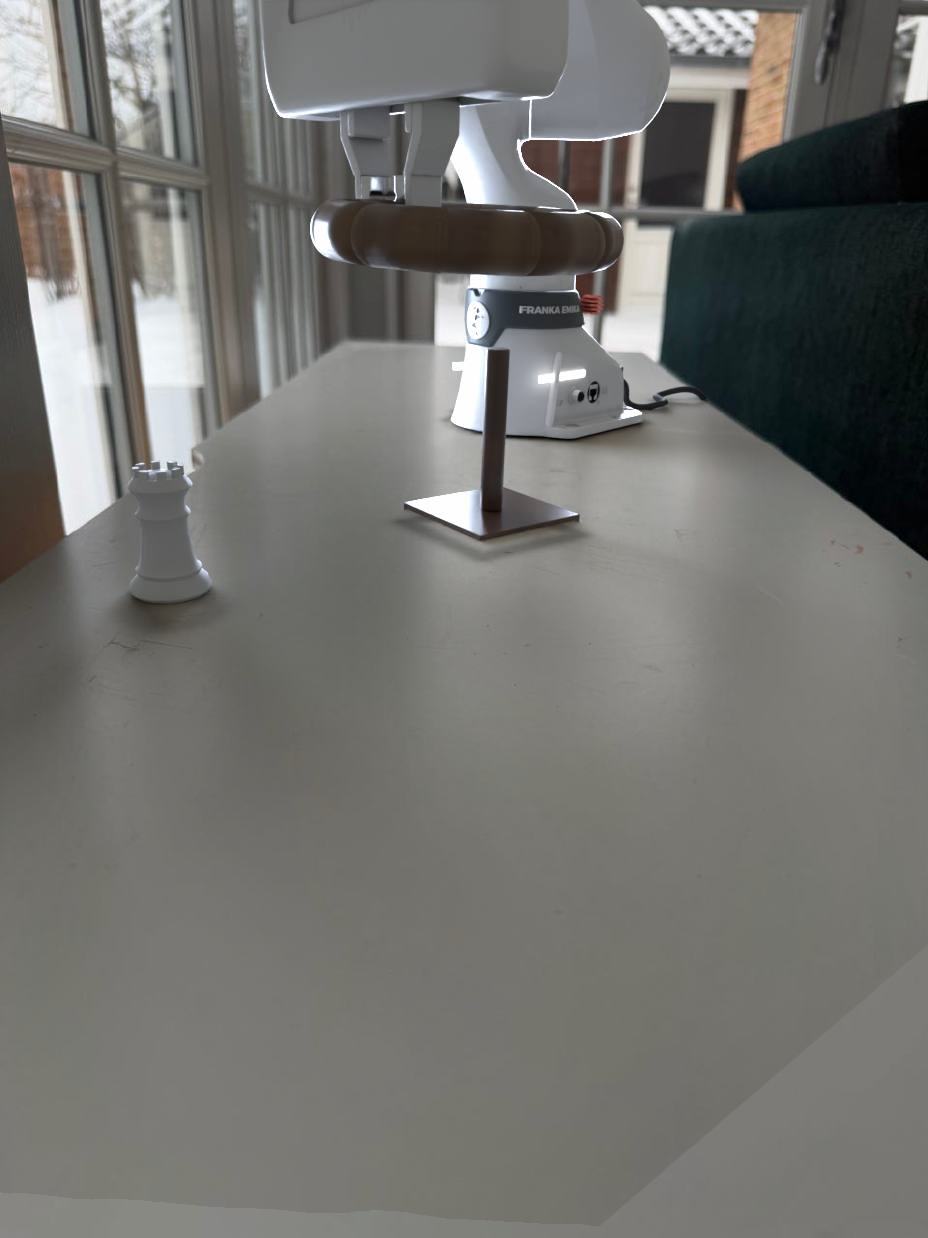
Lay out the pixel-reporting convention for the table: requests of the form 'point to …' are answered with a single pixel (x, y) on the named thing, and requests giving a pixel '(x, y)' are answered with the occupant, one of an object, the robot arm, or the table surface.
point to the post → (492, 476)
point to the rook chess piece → (165, 537)
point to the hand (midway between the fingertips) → (397, 216)
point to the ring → (466, 238)
